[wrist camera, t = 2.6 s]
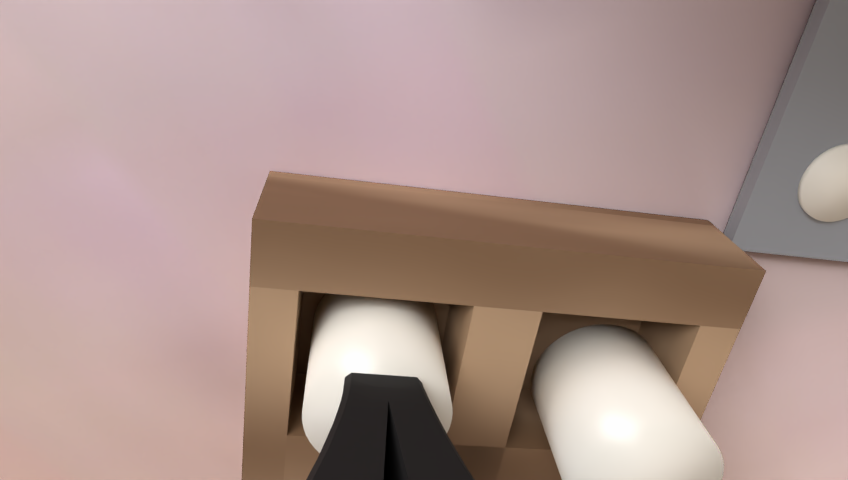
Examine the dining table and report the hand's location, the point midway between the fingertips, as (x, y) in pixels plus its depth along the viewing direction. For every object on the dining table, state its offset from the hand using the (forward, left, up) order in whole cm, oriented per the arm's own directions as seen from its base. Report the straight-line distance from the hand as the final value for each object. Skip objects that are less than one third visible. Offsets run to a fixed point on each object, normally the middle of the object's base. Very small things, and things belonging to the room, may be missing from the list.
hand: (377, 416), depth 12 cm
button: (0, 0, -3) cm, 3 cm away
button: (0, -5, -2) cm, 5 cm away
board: (-3, -2, -4) cm, 5 cm away
